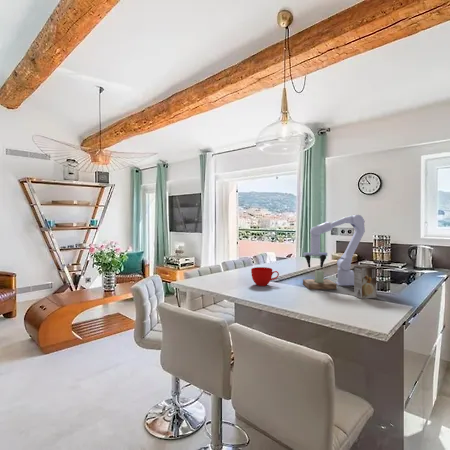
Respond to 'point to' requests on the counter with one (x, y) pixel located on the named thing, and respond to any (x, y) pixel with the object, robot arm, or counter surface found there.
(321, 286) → the socket block
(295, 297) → the counter surface
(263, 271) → the ceramic cup
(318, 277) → the peg
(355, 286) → the coffee box
